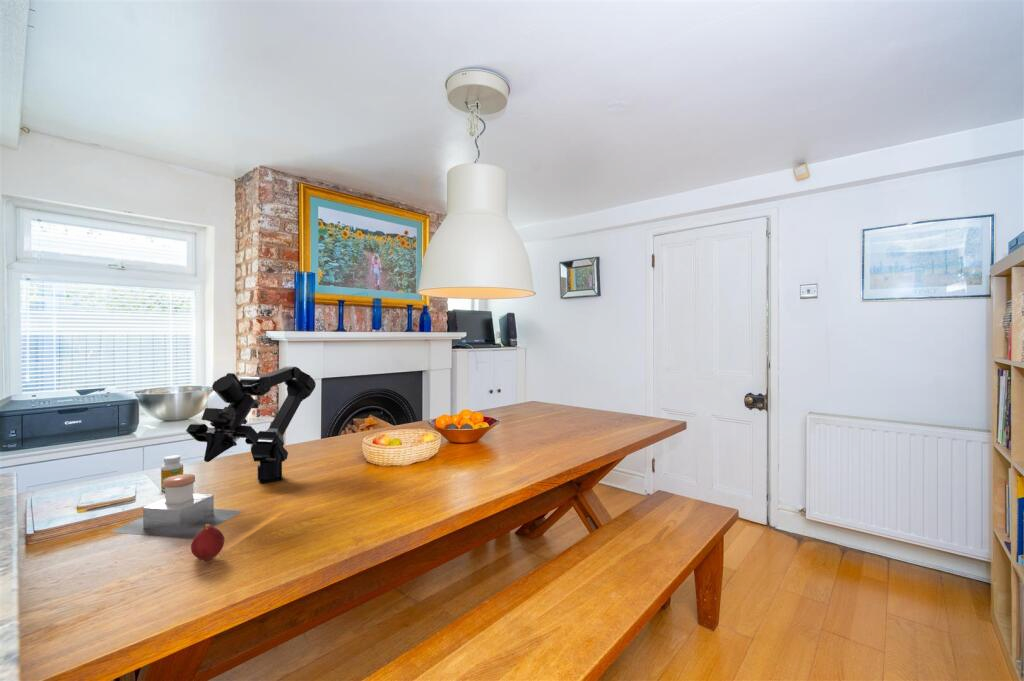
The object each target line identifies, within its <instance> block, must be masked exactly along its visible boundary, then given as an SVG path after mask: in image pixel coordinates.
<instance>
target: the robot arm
mask: <svg viewBox="0 0 1024 681" xmlns="http://www.w3.org/2000/svg"><path fill="white" fill-rule="evenodd" d="M282 383H284V385H286V391H287V394H286V398H285V399H284V401H283V403H282V404H281V406H280V407H279V410H278V412H277V413H276V415H275V416H274V418H273V420H272V422H271V424H270V425H269V427H268V429H266V430H259V431H258V432H257V431H256V430H255V429H254V428H253V427H252V426H251V425H246V424H247V423H248V420H247V417H248V415H249V414H250V412H251V410H252V409H259V404H258V400H257V398H256V399H255V398H253V397H254V396H255V397H256V396H257V397H262V396H265V395H266V394H268V393H270V391H271V388H273V387H275V386H278V385H281V384H282ZM211 388H212V390H213V391H214V392H215V393H216V395H217V396H218V397H219V398H220V399H221V400H222V401H223V402H224V403H226V404H228V406H224V408H219V407H218V408H216V407H215V408H213V407H206V408H204V411H203V414H202V417H201V420H202V421H208V422H209V426H212V427H209V426H208V425H207V424H206V423H199V422H197V423H196V422H195V423H190V424H189V425H188V427H187V428H186V430H185V432H187V434H189V435H190V436H191V437H192V438H193V439H195V441H197V442H199V443H202V442H203V443H206V446H205V447H206V448H205V452H204V453H205V454H204V457H203V461H204V462H205V463H209V462H211V461H212V460H214V459H216V457H218V456H220V455H221V454H223V453H224V452H226V451H228V450H229V449H231V448H233V447H236V446H238V443H237V441H238V440H239V439H240V438H243V439H244V438H245V440H244V441H245V444H247V445H251V447H250V453H251V456H252V460H253V462H259V464H258V465H257V466H256V468H257V481H259V483H260V484H264V483H265V484H266V483H272V482H277V481H283V480H284V477H283V462H285V461H286V460H287V459H288V455H289V452H288V451H287V449H286V448H285V447H284V445H285V441H284V434H285V433H286V431H287V429H288V427H289V425H290V424H291V422H292V419H293V418H294V416H295V414H296V413H297V410H298V408H299V407H300V405H301V404H302V402H303V401H304V400H306V399H307V398H309V397H310V396H311V395H312V393H313V392H314V390H315V388H316V381H315V379H314V378H313V377H312V376H311V375H310V374H308V373H306V372H304V371H302V370H301V369H300V368H299V367H297V366H284V367H282V368H279V369H277V370H274V371H271V372H268V373H266V374H263V375H249V376H248V375H247V376H243V377H241V378H240V380H239V378H238V376H237V374H236V373H235V372H234V373H233V372H228V373H226V375H224V376H221V377H219V378H218V379H217V380H216V381H214V382H213V384H212V386H211Z"/></svg>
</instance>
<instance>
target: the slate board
mask: <svg viewBox="0 0 1024 681" xmlns="http://www.w3.org/2000/svg"><path fill="white" fill-rule="evenodd" d="M242 512H243V510H237V509H235V510H234V509H222V508H214V514H213V515H211V516H209V517H207V518H205V519H203V520H201V521H199V522H197V523H195V524H193V525H191V526H189V527H187V528H185V529H183V530H182V531H172V530H160V529H148V528H143V516H142V517H139V518H138V519H135V520H132V521H130V522H128V523H126V524H124V525H121V526H119V527H117V528H115V529H111V530H109V531H108V532H109V533H116V534H127V535H128V534H129V535H138V536H139V535H140V536H151V537H161V538H172V539H173V538H175V539H184V540H193V539H194V537H195V536H196V535H197V534H198V533H199V532H200V531H201V530H202V529H204V528H203V526H205V525H206V524H209V525H211V526H212V527H215V528H216V527H217V526H219V525H221V524H222V523H224V522H226V521H228V520H229V519H232V518H233V517H235V516H237V515H238V514H240V513H242Z"/></svg>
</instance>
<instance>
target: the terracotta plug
mask: <svg viewBox="0 0 1024 681" xmlns="http://www.w3.org/2000/svg"><path fill="white" fill-rule="evenodd" d="M195 482H196V475H195V474H191V473H186V474H184V473H183V474H182V475H176V476H172V477H168V478H166V479H164V480H163V486H164V487H165V491H164V493H165V494H164V497H165V498H164V499H165V504H168V505H182V504H184V503H186V502H188V501H191V500H193V493H194V483H195Z"/></svg>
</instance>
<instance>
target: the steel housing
mask: <svg viewBox="0 0 1024 681" xmlns="http://www.w3.org/2000/svg"><path fill="white" fill-rule="evenodd" d="M214 500H215V498H214V494H208V493H207V494H206V493H205V494H204V493H194V492H193V500H191V501H188V502H186V503H184V504H182V505H168V504H165V498H163V499H160V500H158V501H155V502H154V503H151V504H148V505H146V506H143V507H142V517H143V528H148V529H160V530H172V531H182V530H183V529H185V528H187V527H189V526H191V525H193V524H195V523H197V522H199V521H201V520H203V519H205V518H207V517H209V516H211V515H213V514H214V509H215V507H214V506H215V505H214V503H215V502H214Z"/></svg>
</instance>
